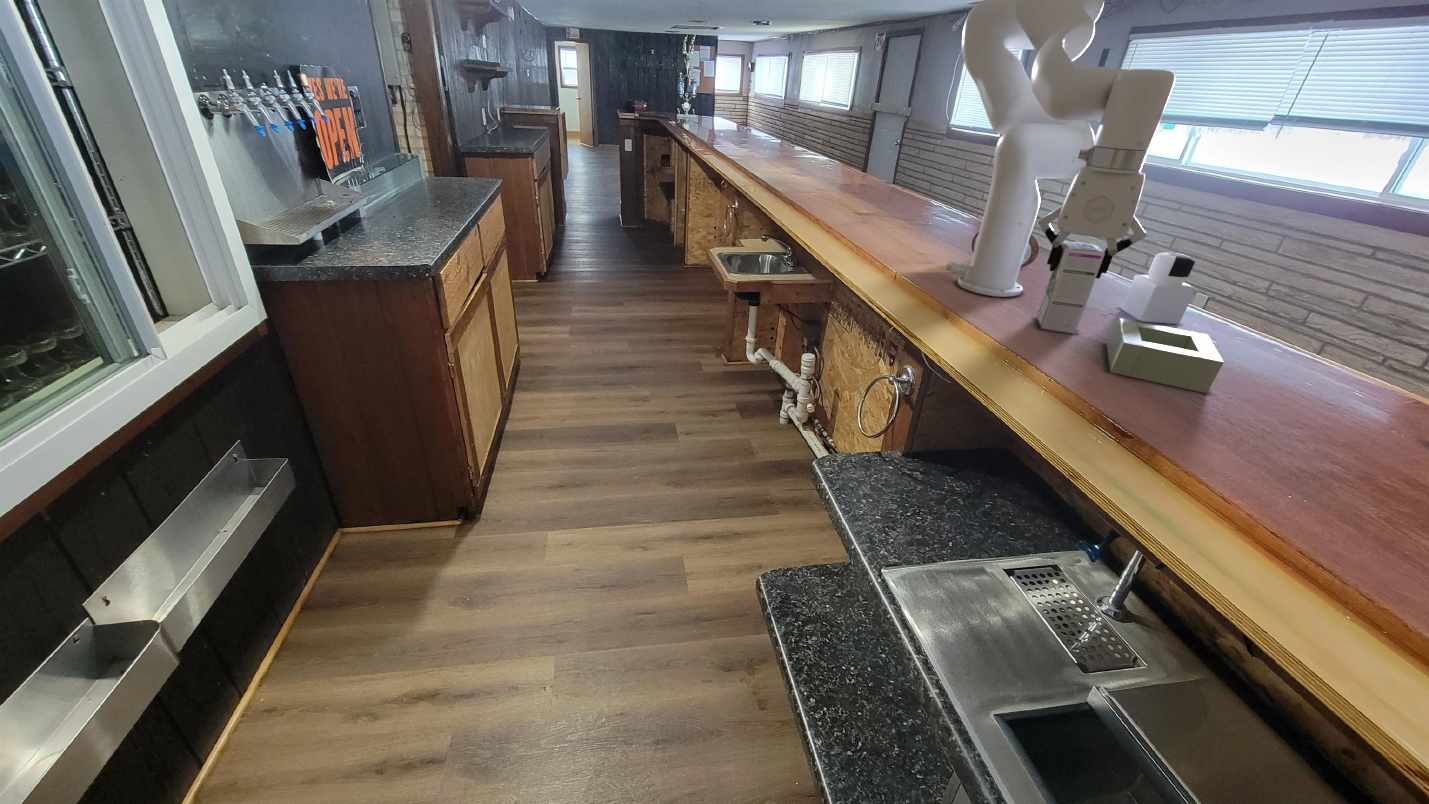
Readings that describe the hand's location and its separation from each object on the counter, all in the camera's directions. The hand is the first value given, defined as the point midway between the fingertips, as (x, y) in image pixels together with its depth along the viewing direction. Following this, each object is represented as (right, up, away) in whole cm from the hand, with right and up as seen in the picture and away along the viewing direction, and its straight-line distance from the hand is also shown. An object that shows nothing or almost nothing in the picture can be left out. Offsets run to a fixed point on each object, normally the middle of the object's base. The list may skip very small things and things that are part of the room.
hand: (1074, 272), depth 97 cm
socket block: (+6, -17, -9) cm, 20 cm away
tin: (+7, +11, +40) cm, 42 cm away
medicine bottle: (+22, -6, +12) cm, 25 cm away
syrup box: (0, -9, +5) cm, 10 cm away
